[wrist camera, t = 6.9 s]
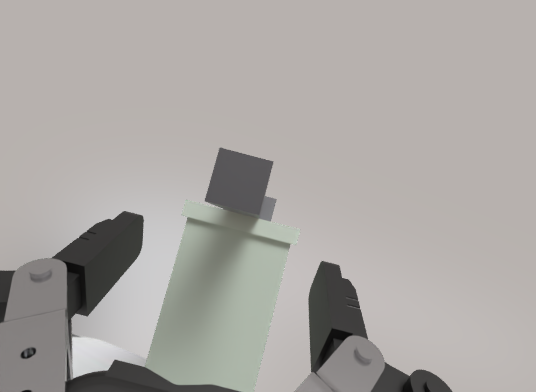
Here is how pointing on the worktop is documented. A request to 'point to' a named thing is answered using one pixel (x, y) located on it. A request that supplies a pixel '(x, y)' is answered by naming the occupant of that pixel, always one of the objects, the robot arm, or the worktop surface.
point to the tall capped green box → (220, 299)
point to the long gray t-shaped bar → (241, 185)
